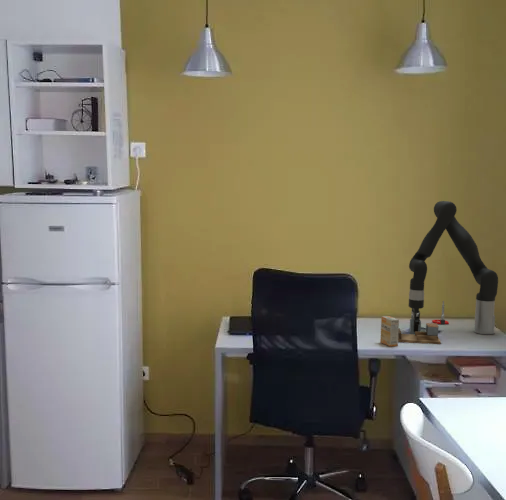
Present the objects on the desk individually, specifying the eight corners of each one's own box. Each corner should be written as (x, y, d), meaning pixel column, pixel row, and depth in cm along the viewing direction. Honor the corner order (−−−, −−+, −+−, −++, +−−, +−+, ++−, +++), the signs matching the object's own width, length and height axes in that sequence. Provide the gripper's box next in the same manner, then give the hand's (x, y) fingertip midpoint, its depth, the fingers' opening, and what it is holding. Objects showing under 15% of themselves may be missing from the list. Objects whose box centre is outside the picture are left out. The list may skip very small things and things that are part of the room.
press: (436, 337, 328) (437, 329, 328) (440, 344, 316) (441, 335, 316) (396, 336, 331) (396, 327, 330) (398, 342, 319) (398, 333, 318)
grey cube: (435, 336, 325) (436, 323, 324) (437, 339, 319) (438, 326, 318) (425, 335, 326) (426, 323, 325) (427, 338, 320) (427, 325, 319)
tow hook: (430, 321, 366) (435, 324, 357) (431, 298, 365) (436, 301, 356) (444, 321, 367) (450, 324, 357) (445, 298, 366) (451, 301, 356)
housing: (419, 332, 338) (419, 318, 337) (420, 334, 334) (421, 319, 333) (409, 332, 339) (410, 317, 338) (410, 334, 334) (411, 319, 333)
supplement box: (379, 342, 317) (380, 316, 316) (388, 341, 319) (389, 315, 318) (389, 347, 310) (390, 319, 308) (398, 346, 312) (399, 319, 310)
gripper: (425, 301, 326) (424, 334, 329) (422, 295, 341) (420, 327, 343) (410, 300, 327) (408, 333, 329) (407, 295, 342) (405, 326, 344)
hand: (414, 330), depth 336 cm, fingers open, 6 cm apart
